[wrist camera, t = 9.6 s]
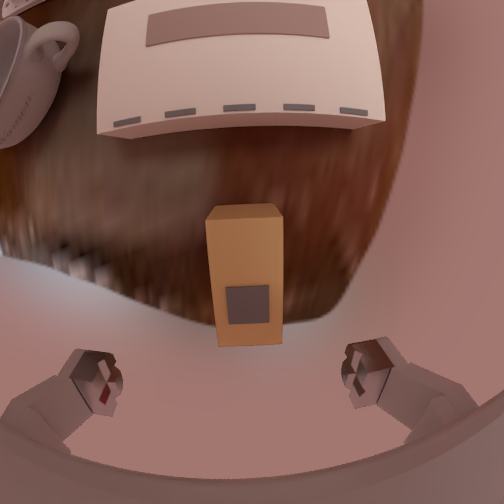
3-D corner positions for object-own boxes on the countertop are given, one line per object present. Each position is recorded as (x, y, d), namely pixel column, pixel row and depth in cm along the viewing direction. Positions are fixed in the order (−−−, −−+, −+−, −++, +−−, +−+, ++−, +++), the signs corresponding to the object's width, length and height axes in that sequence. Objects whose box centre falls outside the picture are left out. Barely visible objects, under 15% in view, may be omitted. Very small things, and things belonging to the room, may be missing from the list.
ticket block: (130, 139, 17) (95, 133, 12) (134, 35, 14) (107, 8, 9) (352, 129, 17) (386, 120, 12) (341, 26, 14) (366, -4, 9)
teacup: (-2, 154, 16) (-59, 162, 8) (14, 57, 13) (-35, 45, 5) (99, 136, 17) (30, 130, 9) (121, 18, 13) (77, -26, 6)
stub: (223, 307, 21) (218, 348, 16) (215, 205, 19) (204, 221, 14) (274, 305, 21) (282, 345, 16) (273, 203, 19) (283, 217, 14)
